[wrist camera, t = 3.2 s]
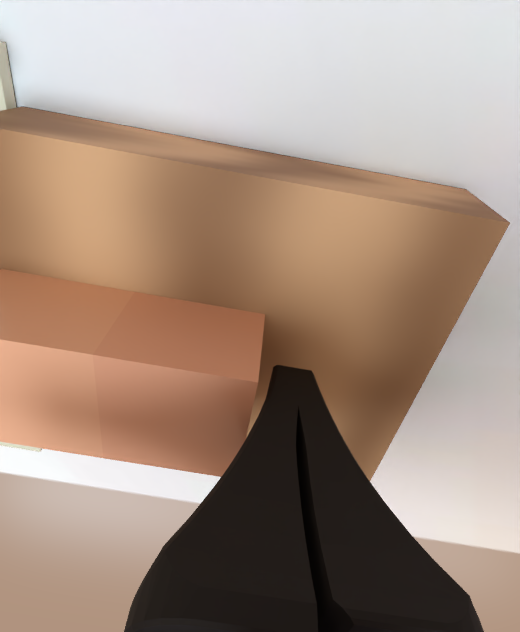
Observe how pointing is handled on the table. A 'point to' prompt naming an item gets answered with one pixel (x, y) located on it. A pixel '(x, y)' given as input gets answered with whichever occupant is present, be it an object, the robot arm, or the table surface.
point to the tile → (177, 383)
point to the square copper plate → (256, 250)
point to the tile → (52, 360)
